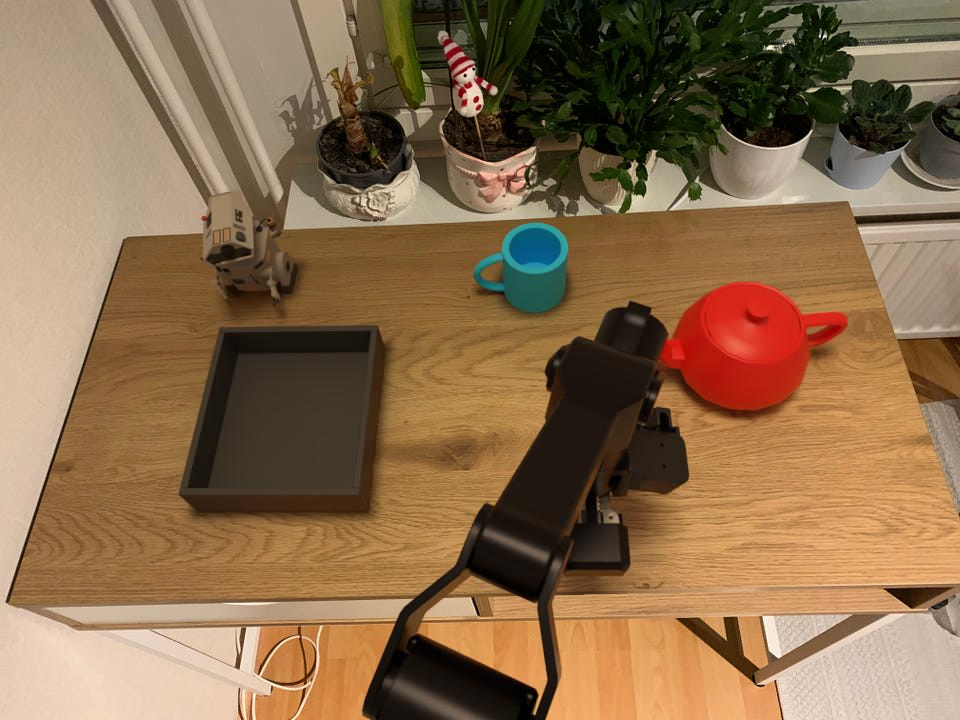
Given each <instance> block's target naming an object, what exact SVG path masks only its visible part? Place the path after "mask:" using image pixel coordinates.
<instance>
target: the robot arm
mask: <svg viewBox="0 0 960 720" xmlns="http://www.w3.org/2000/svg"><path fill="white" fill-rule="evenodd" d="M652 309H653V307H652V306H650V305H645V304H643V303H641V302H640V303H639V302H636V301H634V300H629V301H628V303H627V306H619V307H618V306H617V307H614V308H611V309H608V311H606V312H605V314H604V316H603V318H602V320H601V323H600V325H599V328H598V330H597V333H596V335H595V337H594V339H590V338H587V337H584V336H581V335H578V336H576V337H574V338H573V339H572V341H571V342H570V343H566V344H564V345H561V346H560V347H559V348H558V350H556V351H555V353H553V354H552V355H551V356H550V358H549V359H548V360H547V362H546V365H545V368H544V375H545V378H546V383H545V388H546V392H549V393H550V395H549V399H548V403H547V406H546V411H545V415H544V420H545V422H544V423H543V424H542V427H541V429H540V430H539V432H538V433H537V435H536V437H535V438H534V440H533V442H532V443H531V445H530V447H528V449H527V451H526V453H525V455H524V456H523V458H522V460H521V461H520V463H519V465H518V466H517V468H516V469H515V471H514V473H513V474H512V476H511V477H510V479H509V481H508V482H507V484H506V485H505V487H504V490H503V491H502V492H501V494H500V495H499V497H498V499H497V500H496V502H495V504H491V503H489V502H485V503H483V505H482V506H481V507H480V509H479V510H478V512H477V514H476V515H475V518H474V519H473V522H472V524H471V526H470V528H469V531H468V533H467V535H466V538H465V540H464V543H463V545H462V547H461V551H460V553H459V556H458V558H457V561H456V562H455V564H454V566H453V567H451V568H449V570H448V571H446V572H445V573H444V574H443V575H441V576H440V577H439V578H437V580H435V581H434V582H432V584H430V585H429V586H428V587H427V588H425V589H424V590H422V592H420V593H419V594H418V595H417V596H416V597H414V598H413V599H411V600H410V601H409V602H408V603H407V604H405V605H404V606H403V608H402V609H401V611H399V613H398V615H397V618H396V620H395V623H394V625H393V627H392V630H391V632H390V635H389V637H388V640H387V642H386V645H385V647H384V649H383V652H382V654H381V657H380V659H379V662H378V664H377V665H376V668H375V671H374V673H373V676H372V679H371V681H370V683H369V685H368V689H367V691H366V694H365V696H364V700H363V704H362V709H361V713H362V714H361V715H362V717H364V718H365V719H368V720H547V717H548V714H549V712H550V709H551V707H552V703H553V701H554V699H555V698H554V697H555V695H556V692H557V689H558V687H559V684H560V681H561V678H562V673H563V671H562V670H563V667H562V662H561V656H560V648H559V641H558V635H557V628H556V622H555V615H554V608H553V607H554V606H553V602H554V599H555V596H556V593H557V592H558V589H559V585H560V583H561V580H562V578H563V577H623V576H624V575H625V574H627V572H628V571H629V569H630V567H631V565H632V563H631V552H630V550H631V549H630V538H629V526H628V525H625V524H624V519H623V513H621V512H620V513H618V512H617V511H616V510H614V509H612V508H611V497H612V498H627V496H628V494H629V491H638V492H645V493H652V494H653V493H654V494H658V495H662V496H666V495H668V494H670V493H672V492H674V491H675V490H677V489H679V488H680V487H681V486H683V485H685V484H686V483H688V481H689V480H690V469H689V461H688V455H687V448H686V447H687V446H686V441H685V439H684V438H683V437H682V436H681V431H680V426H673V420H672V419H673V418H672V411H671V409H670V408H669V407H662V406H655V405H656V404H657V403H656V402H657V400H658V397H659V395H660V392H661V389H662V387H663V384H664V381H665V378H666V375H667V372H665V371H663V370H660V369H657V368H658V366H659V363H660V358H661V355H662V352H663V350H664V347H665V344H666V342H667V340H669V335H670V334H669V331H668V329H667V328H666V326H665V324H664V323H662V322H661V320H660V319H659V318H657V317H656V316H654V315H653V314H651V313H652ZM610 492H611V497H610ZM596 497H598V499H600V501H599V502H598V503H600V505H599V507H600V508H601V509H599V510H597V498H596ZM583 504H585V510H581V509H582V506H583ZM471 577H474V578H476V579H478V580H480V581H482V582H485V583H487V584H490V585H491V586H494V587H495V588H498V589H501V590H502V591H506V592H507V593H509V594H512V595H514V596H517V597H519V598H521V599H524V600H525V601H528V602H530V603H533V604H537V605H536V610H537V618H538V624H539V633H540V639H541V645H542V652H543V659H544V666H545V674H546V683H545V687H544V688H543V692H542V694H541V697H540V695H539V692H538V689H537V688H536V687H534V686H531V685H529V684H527V683H525V682H523V681H521V680H519V679H516V678H514V677H513V676H510V675H508V674H505V673H503V672H502V671H500V670H498V669H495V668H493V667H491V666H489V665H487V664H485V663H483V662H481V661H478V660H476V659H475V658H472V657H471V656H467V655H465V654H464V653H462V652H459V651H457V650H455V649H453V648H451V647H448V646H447V645H445V644H442V643H441V642H438V641H436V640H434V639H432V638H430V637H427V636H425V635H423V634H421V633H419V630H420V627H421V625H422V623H423V620H424V617H425V615H426V613H427V612H429V611H430V610H431V609H432V608H434V607H435V606H436V605H437V604H438V603H440V602H441V601H442V600H443V599H445V598H446V597H447V596H449V595H450V594H451V593H452V592H453V591H454V590H456V589H457V588H458V587H459V586H461V585H462V584H463V583H464V582H465V581H467V580H468V579H469V578H471ZM539 697H540V700H539ZM538 700H539V703H538ZM537 704H538V705H537ZM536 708H537V709H536ZM535 710H536V711H535Z"/></svg>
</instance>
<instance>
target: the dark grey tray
mask: <svg viewBox="0 0 960 720" xmlns="http://www.w3.org/2000/svg"><path fill="white" fill-rule="evenodd" d="M385 357H386V347H385V343H384V340H383V336H382V334H381V331H380V328H379V325H378V324H369V325H368V324H365V325H361V324H359V325H358V324H357V325H355V324H353V325H294V326H293V325H285V326H283V325H281V326H278V325H277V326H276V325H275V326H274V325H273V326H220V327H219V329H218V333H217V336H216V339H215V344H214V349H213V352H212V357H211V361H210V364H209V369H208V373H207V377H206V381H205V385H204V389H203V392H202V397H201V401H200V405H199V409H198V414H197V418H196V421H195V425H194V429H193V433H192V436H191V437H192V438H191V442H190V446H189V450H188V454H187V458H186V461H185V465H184V469H183V474H182V478H181V483H180V486H179V491H178V496H179V497H181V499H182V500H184V501H185V502H186V503H187V504H188V505H190V507H192V508H193V509H194V510H195V511H196V512H197V513H369V512H370V503H371V493H372V484H373V474H374V466H375V465H374V464H375V455H376V446H377V436H378V425H379V416H380V405H381V395H382V386H383V377H384V367H385Z"/></svg>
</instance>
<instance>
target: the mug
mask: <svg viewBox="0 0 960 720" xmlns="http://www.w3.org/2000/svg"><path fill="white" fill-rule="evenodd" d="M568 257H569V243H568V241H567V238H566V236H565V235H564V234H563V233H562V232H561V231H560V229H558V228H556V227H554V226H553V225H550V224H546V223H543V222H528V223H523V224H520V225H518V226H516V227H515V228H513V229H511V230H510V231H509V232H508V233H507V234H506V236H505V237H504V240H503V241H502V245H501V252H496V253H494V254H491V255H489V256H486V257H485V258H483V259H482V260H480V261H479V262H478V263H477V264H476V266H475V267H474V269H473V274H472V276H473V278H474V281H475V283H476V284H477V285H478V286H480V287H481V288H484V289H486V290H489V291H495V292H503V293H504V296H505V298H506V300H507V301H508V302H509V303H510V305H511V306H513V307H515V308H516V309H517V310H519V311H522V312H526V313H542V312H543V313H544V312H547V311H549V310H551V309H553V308H554V307H557V305H558V304H559V303H560V302H561V301H562V299H563V297H564V295H565V292H566V282H567V270H568V259H569V258H568ZM499 262H502V280H503V281H502V282H495V281H490V280H487V279H485V278H483V277H482V272H483V271H484V270H485V269H486V268H488V267H489V266H491V265H494V264H496V263H499Z"/></svg>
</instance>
